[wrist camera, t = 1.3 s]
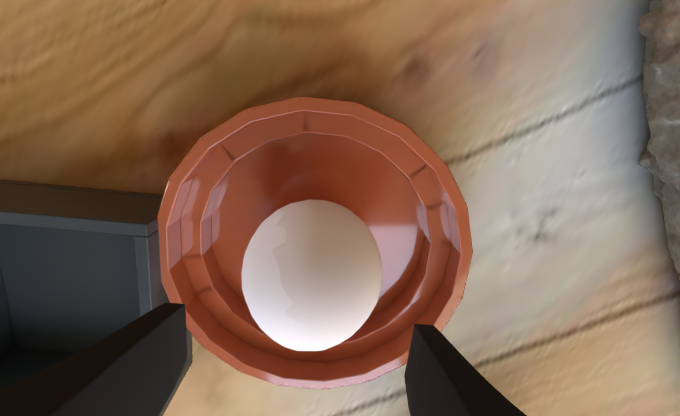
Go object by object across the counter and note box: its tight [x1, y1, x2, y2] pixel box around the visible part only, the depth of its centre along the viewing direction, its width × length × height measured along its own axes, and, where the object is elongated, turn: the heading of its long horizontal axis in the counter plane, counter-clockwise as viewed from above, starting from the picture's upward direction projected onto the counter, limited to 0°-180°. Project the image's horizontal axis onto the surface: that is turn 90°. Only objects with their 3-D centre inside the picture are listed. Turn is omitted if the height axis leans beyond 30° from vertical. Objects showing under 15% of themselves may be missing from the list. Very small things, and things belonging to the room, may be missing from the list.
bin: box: [0, 180, 192, 416], centre depth 19 cm, size 11×11×4 cm
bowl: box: [157, 96, 473, 389], centre depth 19 cm, size 15×15×4 cm
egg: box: [242, 200, 382, 351], centre depth 16 cm, size 6×6×8 cm
